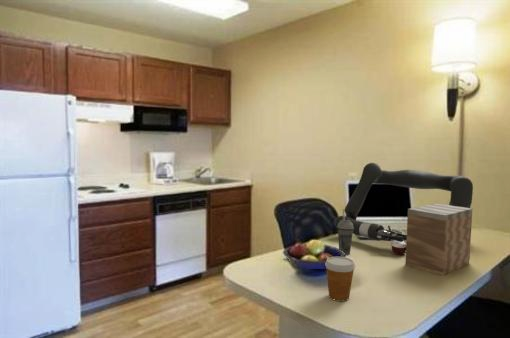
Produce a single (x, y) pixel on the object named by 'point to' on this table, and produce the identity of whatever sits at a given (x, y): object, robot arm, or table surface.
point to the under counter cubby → (438, 237)
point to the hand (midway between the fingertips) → (405, 238)
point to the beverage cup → (345, 235)
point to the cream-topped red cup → (398, 245)
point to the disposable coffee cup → (339, 277)
